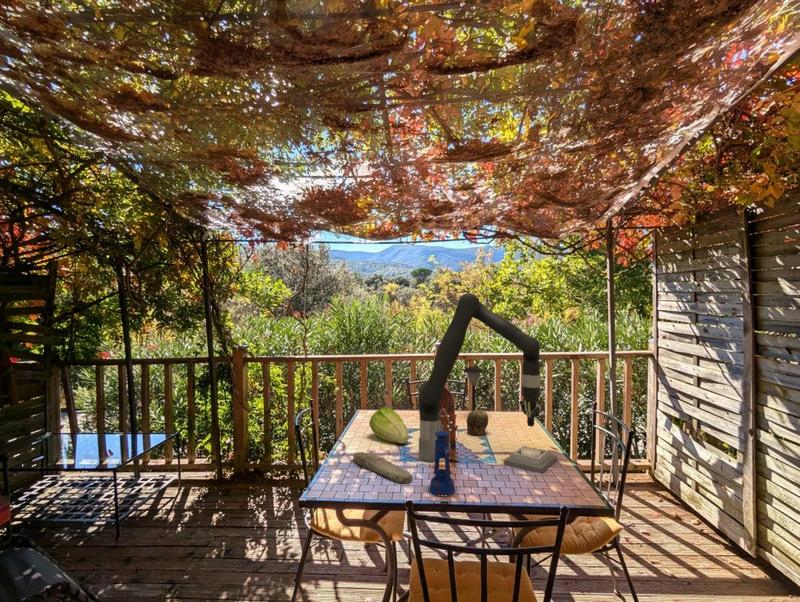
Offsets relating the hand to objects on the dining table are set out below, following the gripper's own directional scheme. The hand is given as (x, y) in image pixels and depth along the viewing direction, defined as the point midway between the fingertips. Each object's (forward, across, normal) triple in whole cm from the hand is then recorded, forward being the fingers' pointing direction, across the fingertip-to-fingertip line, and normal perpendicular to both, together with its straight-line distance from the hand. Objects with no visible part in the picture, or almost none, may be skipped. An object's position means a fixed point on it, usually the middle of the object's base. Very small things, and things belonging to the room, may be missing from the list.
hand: (530, 425), depth 192 cm
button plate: (+16, 0, 0) cm, 16 cm away
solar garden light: (+16, +64, -11) cm, 67 cm away
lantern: (+16, -10, +47) cm, 51 cm away
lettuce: (+16, +52, +43) cm, 70 cm away
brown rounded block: (+16, +43, -1) cm, 46 cm away
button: (+13, 0, 0) cm, 13 cm away
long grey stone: (+17, +17, +61) cm, 66 cm away
